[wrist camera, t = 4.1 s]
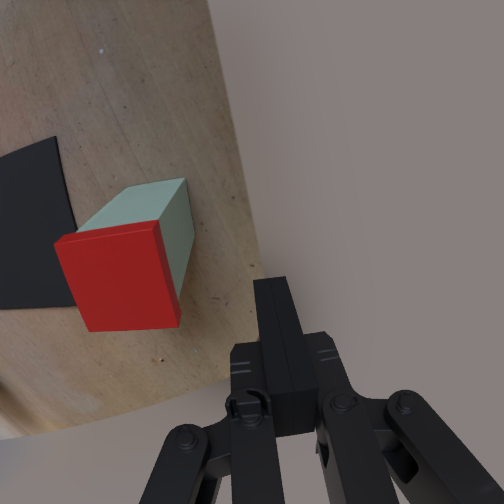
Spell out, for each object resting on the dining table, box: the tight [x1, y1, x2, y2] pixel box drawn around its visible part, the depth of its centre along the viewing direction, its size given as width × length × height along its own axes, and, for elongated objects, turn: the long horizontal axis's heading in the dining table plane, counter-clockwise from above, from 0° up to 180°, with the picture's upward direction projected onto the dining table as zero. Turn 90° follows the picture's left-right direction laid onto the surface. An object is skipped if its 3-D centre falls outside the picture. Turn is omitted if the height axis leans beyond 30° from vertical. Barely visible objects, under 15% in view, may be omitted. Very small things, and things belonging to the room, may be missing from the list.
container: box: [54, 178, 195, 332], centre depth 23 cm, size 7×7×14 cm
